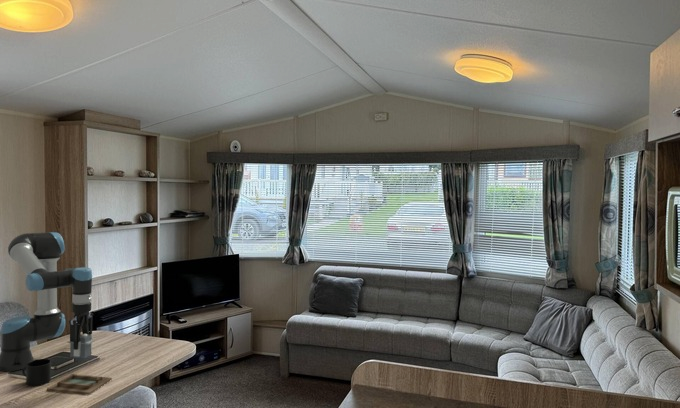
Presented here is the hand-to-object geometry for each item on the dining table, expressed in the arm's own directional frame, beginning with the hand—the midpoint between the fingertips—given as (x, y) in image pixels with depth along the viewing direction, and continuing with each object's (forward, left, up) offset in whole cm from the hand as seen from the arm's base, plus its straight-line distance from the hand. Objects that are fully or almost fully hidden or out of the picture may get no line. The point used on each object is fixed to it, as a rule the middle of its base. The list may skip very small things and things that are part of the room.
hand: (80, 353), depth 213 cm
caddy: (0, 0, -14) cm, 14 cm away
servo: (0, 0, -1) cm, 1 cm away
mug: (-21, -1, -14) cm, 26 cm away
